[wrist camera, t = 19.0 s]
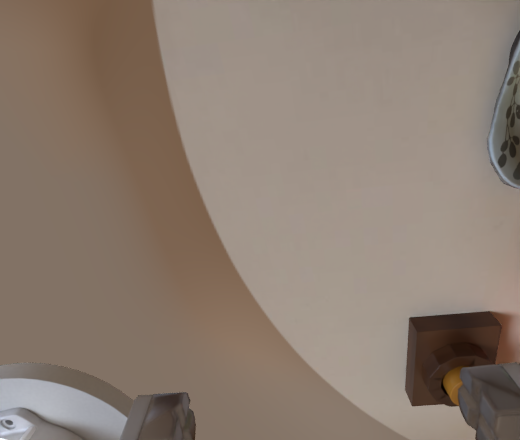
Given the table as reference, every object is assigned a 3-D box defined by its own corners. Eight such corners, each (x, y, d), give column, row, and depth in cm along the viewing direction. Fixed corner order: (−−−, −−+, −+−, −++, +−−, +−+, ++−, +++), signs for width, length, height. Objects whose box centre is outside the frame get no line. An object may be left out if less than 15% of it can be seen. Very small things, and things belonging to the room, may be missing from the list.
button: (440, 393, 38) (448, 408, 36) (444, 366, 36) (452, 380, 35) (477, 391, 37) (487, 406, 36) (482, 363, 36) (492, 377, 34)
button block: (404, 389, 42) (418, 421, 39) (409, 317, 38) (424, 345, 35) (477, 384, 42) (498, 416, 38) (489, 311, 38) (513, 338, 34)
